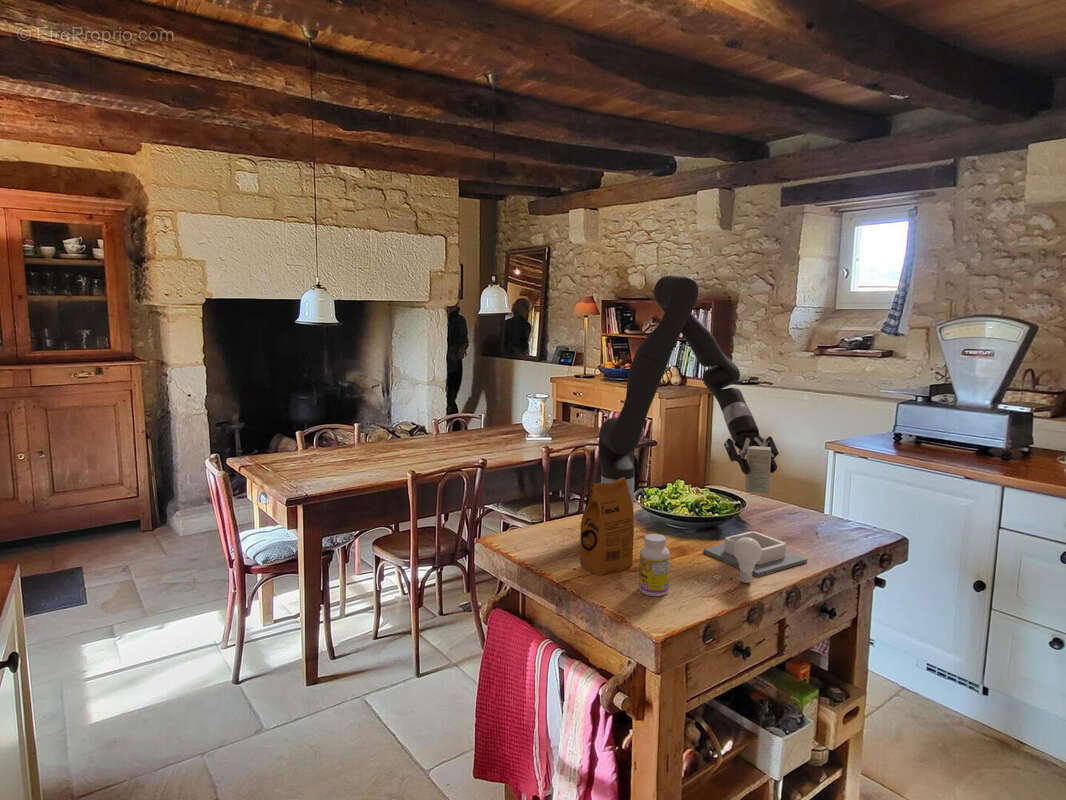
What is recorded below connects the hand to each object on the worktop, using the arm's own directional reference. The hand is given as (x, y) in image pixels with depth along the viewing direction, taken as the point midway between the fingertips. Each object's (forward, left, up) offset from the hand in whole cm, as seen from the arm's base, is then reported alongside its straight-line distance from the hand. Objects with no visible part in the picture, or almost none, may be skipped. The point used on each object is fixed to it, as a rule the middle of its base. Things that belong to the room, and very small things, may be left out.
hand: (761, 472), depth 176 cm
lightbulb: (-22, -16, -21) cm, 34 cm away
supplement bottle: (-44, -9, -21) cm, 49 cm away
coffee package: (-45, +8, -21) cm, 50 cm away
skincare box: (0, +1, -6) cm, 6 cm away
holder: (-8, -6, -20) cm, 23 cm away
